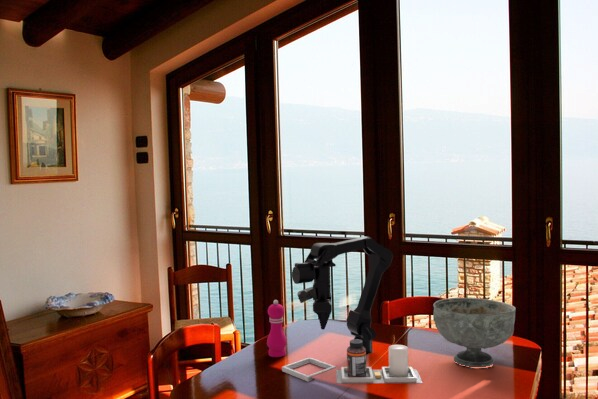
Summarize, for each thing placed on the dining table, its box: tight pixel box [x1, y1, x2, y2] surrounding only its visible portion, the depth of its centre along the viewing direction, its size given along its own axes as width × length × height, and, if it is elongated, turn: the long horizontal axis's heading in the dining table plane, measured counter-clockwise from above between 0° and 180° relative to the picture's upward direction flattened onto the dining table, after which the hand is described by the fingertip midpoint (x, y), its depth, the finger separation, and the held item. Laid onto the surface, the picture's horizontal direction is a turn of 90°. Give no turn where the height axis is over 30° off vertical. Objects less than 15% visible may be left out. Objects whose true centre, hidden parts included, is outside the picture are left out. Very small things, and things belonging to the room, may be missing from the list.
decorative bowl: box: [432, 297, 516, 367], centre depth 181 cm, size 26×26×20 cm
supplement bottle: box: [346, 338, 367, 377], centre depth 168 cm, size 6×6×11 cm
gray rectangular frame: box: [335, 366, 423, 384], centre depth 168 cm, size 26×11×2 cm, turn 87°
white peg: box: [388, 344, 409, 377], centre depth 167 cm, size 6×6×9 cm
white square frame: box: [281, 357, 337, 382], centre depth 177 cm, size 13×13×2 cm
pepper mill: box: [266, 299, 288, 358], centre depth 193 cm, size 7×7×20 cm
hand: (323, 325), depth 183 cm, fingers open, 9 cm apart
